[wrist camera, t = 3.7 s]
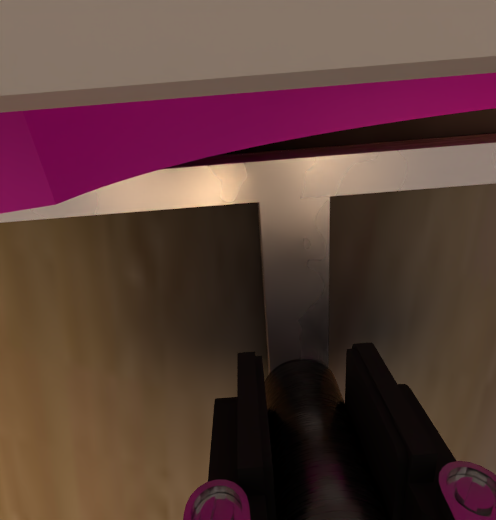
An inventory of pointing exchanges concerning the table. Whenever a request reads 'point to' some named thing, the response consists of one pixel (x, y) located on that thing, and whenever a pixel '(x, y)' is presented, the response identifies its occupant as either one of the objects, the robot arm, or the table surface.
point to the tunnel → (230, 47)
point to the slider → (299, 285)
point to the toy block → (200, 130)
